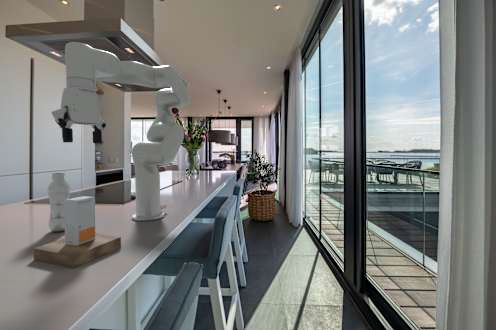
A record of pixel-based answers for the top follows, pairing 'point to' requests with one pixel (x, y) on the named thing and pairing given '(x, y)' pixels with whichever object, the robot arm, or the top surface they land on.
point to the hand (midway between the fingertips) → (83, 142)
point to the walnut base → (76, 251)
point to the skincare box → (79, 220)
